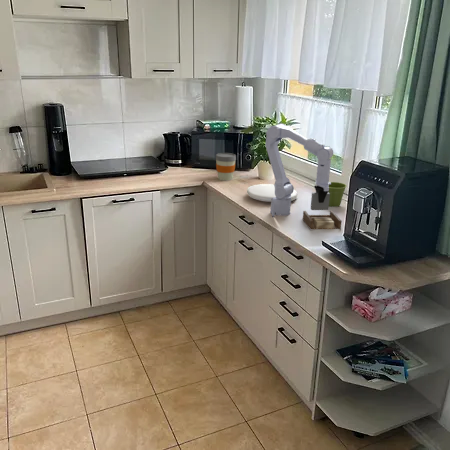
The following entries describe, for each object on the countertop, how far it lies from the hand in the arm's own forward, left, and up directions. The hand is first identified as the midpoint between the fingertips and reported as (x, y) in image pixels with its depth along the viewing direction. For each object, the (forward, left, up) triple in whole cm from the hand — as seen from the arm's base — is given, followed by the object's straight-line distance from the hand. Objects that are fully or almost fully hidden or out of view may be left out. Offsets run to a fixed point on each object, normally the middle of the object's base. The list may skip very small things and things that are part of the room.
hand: (320, 201), depth 218 cm
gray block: (0, 0, -4) cm, 4 cm away
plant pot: (+15, +25, -10) cm, 31 cm away
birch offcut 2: (0, -10, -9) cm, 13 cm away
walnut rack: (0, -5, -10) cm, 11 cm away
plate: (-15, +39, -11) cm, 43 cm away
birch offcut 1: (0, -7, -9) cm, 11 cm away
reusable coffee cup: (-37, +79, -10) cm, 88 cm away
